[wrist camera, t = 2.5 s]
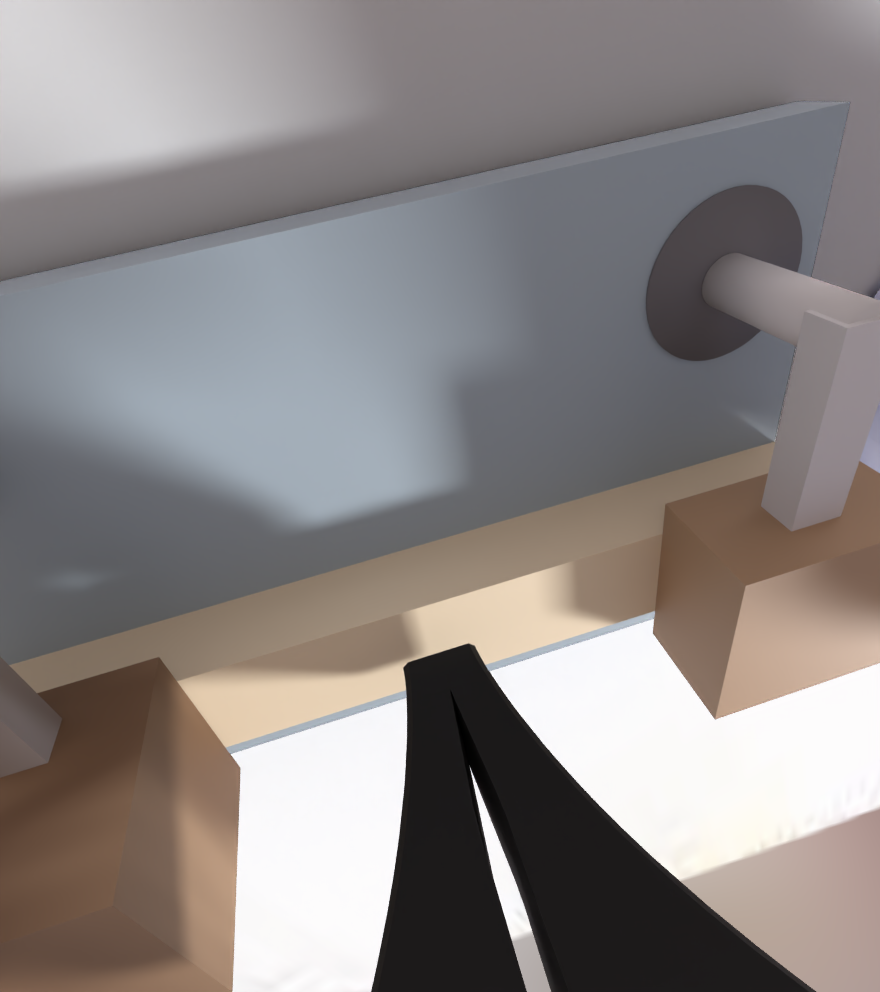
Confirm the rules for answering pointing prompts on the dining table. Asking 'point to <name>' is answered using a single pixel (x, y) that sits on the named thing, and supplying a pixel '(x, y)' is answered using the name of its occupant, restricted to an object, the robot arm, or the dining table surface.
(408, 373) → the gauge board
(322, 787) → the dining table surface
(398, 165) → the dining table surface
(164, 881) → the slider
